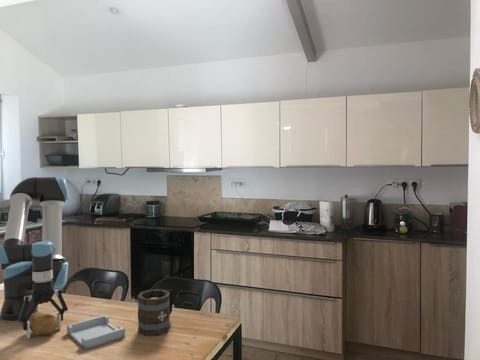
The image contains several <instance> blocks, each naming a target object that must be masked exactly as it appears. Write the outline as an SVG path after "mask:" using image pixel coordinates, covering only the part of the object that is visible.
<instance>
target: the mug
mask: <svg viewBox="0 0 480 360" xmlns="http://www.w3.org/2000/svg"><path fill="white" fill-rule="evenodd" d="M173 295H174V294H173V290H172V289H168V288H167V289H166V290H165V289H148V290H143V291H140V292H139V294H138V295H137V304H138V305H137V321H138V325H137V326H138V328H137V333H138V334H140V335H141V336H143V337H159V336H163V335H164V334H167V333H169V331H170V329H171V322H170V321H171V320H170V318H171V314H172V312H173V311H172V310H173Z"/></svg>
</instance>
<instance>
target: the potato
mask: <svg viewBox="0 0 480 360" xmlns="http://www.w3.org/2000/svg"><path fill="white" fill-rule="evenodd" d="M28 321H29V322H30V332H31V333H34V334H37V335H39V336H43V335H51V334H52V333H53V332H55V331H56V330H57V329H58V328H57V327H58V319H57V316H54V315H52V314H50V313H45V312H41V311H40V312H39V311H38V312H36V313H33V314H32V315H31V317H30V318H29V320H28Z"/></svg>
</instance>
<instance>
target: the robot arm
mask: <svg viewBox="0 0 480 360" xmlns="http://www.w3.org/2000/svg"><path fill="white" fill-rule="evenodd" d="M68 200H69V191H68V185H67V180H66V178H65V177H61V176H58V177H57V176H48V177H47V176H43V177H42V176H41V177H37V176H36V177H35V176H32V177H28V178H27V177H26V179H23V180H22V181H20V182H19V183H18V184H17V185H15V187H14V188H13V189H12V190H11V193H10V195H9V203H10V208H9V213H8V219H7V224H6V228H5V233H4V239H3V243H2V244H0V264H10V265H8V266H7V267H5V268H4V270H3V293H4V300H3V302H2V305H1V309H0V319H2V320H4V321H16V320H17V322H19V323H22V328H23V331H25V337H26V338H27V339H28V340H29V339H31V330H30V322H29V321H28V320H29V318H30V317H31V315H32V314H33V313H36V312H39V309H38V308H39V305H43V304H46V303H47V304H48V303H51V305H52V306H53V307H54V309H56V311H58V312H56V318H57V319H58V327H57V328H56V329H58V331H61V330H62V322H63V321H64V314H65V312H67V311H68V310H69V308H68V306H67V303H66V301H65V300H64V297H63V295H62V294H63V293H62V292H63V291H62V289H60V288H63V287H64V286H66V284H67V280H68V279H67V278H68V274H69V273H68V272H69V262H68V261H66V258H65V256H63V255H62V254H63V253H62V252H63V251H62V250H63V244H62V243H63V206H64V205H66V201H68ZM33 202H39V205H40V206H41V207H42V223H41V224H42V225H41V226H42V227H41V229H42V233H41V235H42V238H41V241H36V242H33V243H25V236H26V231H27V224H28V217H29V210H30V206H32V204H33ZM54 295H56V296H57V299H58V301H59V303H60V305H61V307H62V308H61V307H60V306H59V304H57V302H56V301H55V300H54V299H53V296H54Z"/></svg>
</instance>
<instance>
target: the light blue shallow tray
mask: <svg viewBox="0 0 480 360" xmlns="http://www.w3.org/2000/svg"><path fill="white" fill-rule="evenodd" d="M66 327H67V328H66V332H67V333H66V334H67V335H68V336H69V337H71V339H73V340H74V341H75V342H76V343H77V345H79V346H81V348H82V349H83V350H84V351H86V350H89V349H92V348H96V347H98V346H99V347H100V346H101V345H104V344H108V343H111V342H114V341H118V340H120V339H123V338H126V328H125V327H123V326H122V325H118V327H116V326H114V325H113V324H111V323H110V321H109V316H108V315H106V314H103V315H99V316H96V317H92V318H88V319H85V320H81V321H77V322H74V323H70V324H67V325H66Z"/></svg>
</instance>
